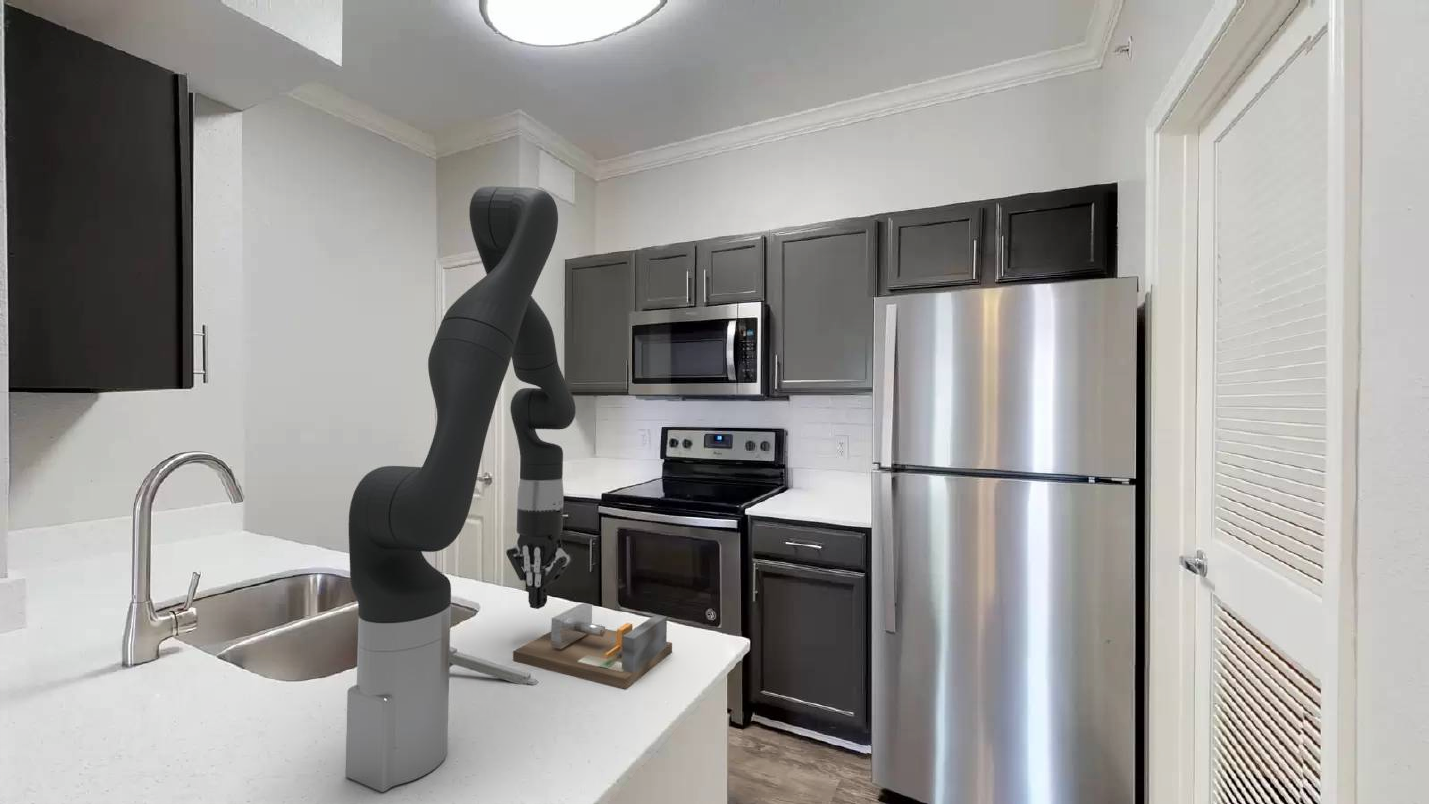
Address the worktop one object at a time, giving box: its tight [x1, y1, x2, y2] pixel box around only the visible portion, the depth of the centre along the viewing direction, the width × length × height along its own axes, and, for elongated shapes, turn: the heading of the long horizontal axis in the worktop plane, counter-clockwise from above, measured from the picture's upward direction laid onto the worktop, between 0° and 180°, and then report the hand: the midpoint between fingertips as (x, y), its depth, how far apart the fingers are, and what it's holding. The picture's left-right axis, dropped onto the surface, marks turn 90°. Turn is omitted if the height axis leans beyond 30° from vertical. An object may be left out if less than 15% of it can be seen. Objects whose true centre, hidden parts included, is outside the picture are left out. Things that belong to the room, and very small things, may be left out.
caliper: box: [449, 646, 539, 686], centre depth 85 cm, size 20×1×6 cm, turn 81°
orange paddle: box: [605, 622, 633, 659], centre depth 89 cm, size 6×1×3 cm, turn 156°
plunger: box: [550, 602, 606, 649], centre depth 93 cm, size 8×7×4 cm
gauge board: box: [512, 614, 673, 690], centre depth 92 cm, size 14×21×6 cm, turn 66°
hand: (537, 607), depth 97 cm, fingers closed
